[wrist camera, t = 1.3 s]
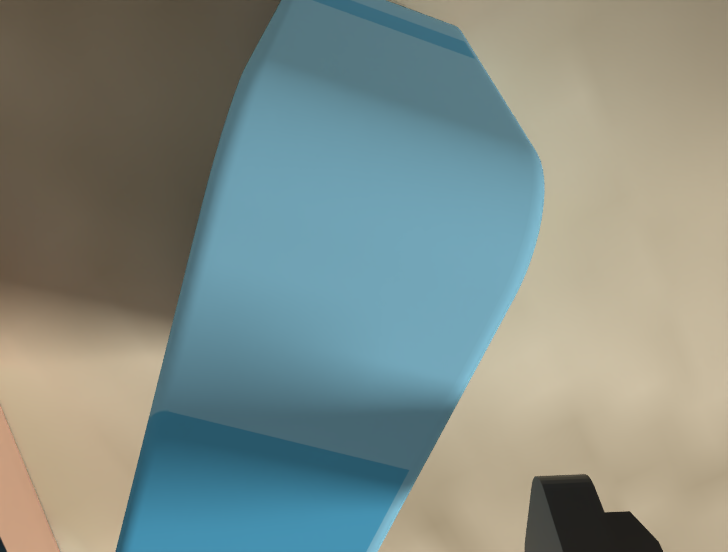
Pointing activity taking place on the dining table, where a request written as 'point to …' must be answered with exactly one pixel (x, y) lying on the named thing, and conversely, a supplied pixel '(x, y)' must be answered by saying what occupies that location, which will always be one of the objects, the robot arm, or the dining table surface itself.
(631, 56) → the dining table surface
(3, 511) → the planter saucer
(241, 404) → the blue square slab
